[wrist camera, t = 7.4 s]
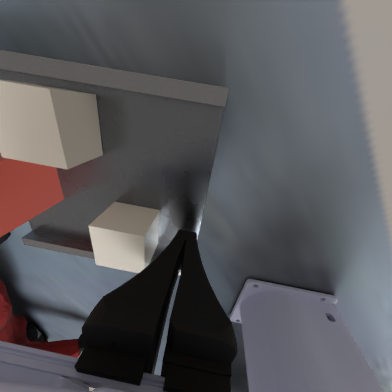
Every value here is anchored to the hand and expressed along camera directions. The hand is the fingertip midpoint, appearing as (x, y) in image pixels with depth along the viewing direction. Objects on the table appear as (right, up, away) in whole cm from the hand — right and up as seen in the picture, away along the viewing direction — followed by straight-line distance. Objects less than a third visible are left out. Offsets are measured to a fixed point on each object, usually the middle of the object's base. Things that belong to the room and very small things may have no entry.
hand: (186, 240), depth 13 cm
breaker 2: (-4, +1, +1) cm, 4 cm away
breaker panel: (-6, +5, +1) cm, 8 cm away
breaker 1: (-7, +8, -2) cm, 11 cm away
